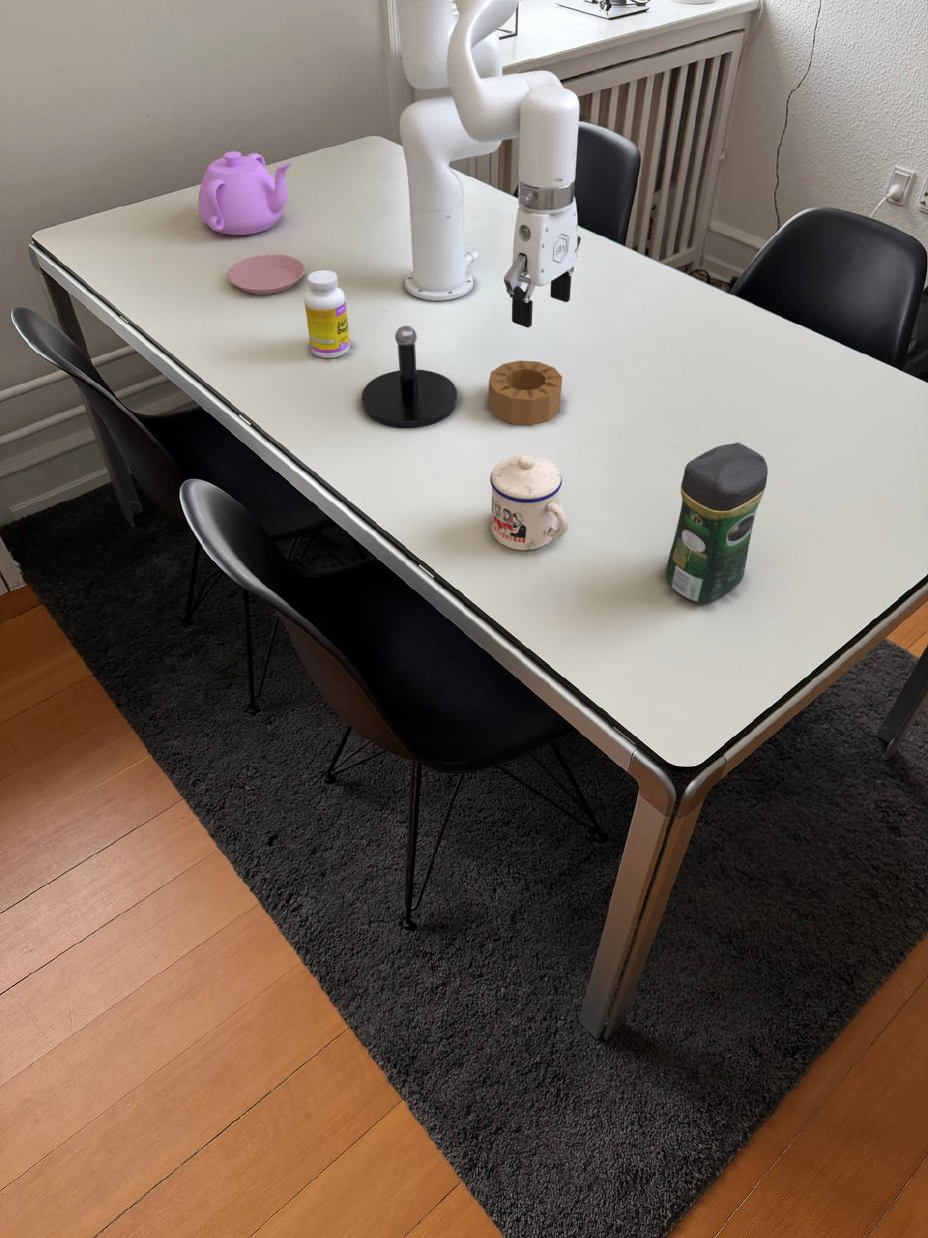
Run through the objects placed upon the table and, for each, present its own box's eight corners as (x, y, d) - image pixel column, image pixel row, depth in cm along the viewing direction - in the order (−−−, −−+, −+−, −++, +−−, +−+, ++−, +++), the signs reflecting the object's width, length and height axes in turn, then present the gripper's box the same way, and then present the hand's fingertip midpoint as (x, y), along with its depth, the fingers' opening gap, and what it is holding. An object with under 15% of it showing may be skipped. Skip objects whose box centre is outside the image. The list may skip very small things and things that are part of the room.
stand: (404, 365, 156) (400, 293, 147) (476, 395, 149) (476, 322, 140) (342, 406, 147) (333, 332, 138) (415, 439, 141) (411, 364, 132)
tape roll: (516, 378, 152) (517, 353, 149) (573, 400, 148) (575, 375, 144) (475, 408, 146) (475, 383, 143) (533, 433, 142) (534, 407, 138)
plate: (285, 304, 171) (283, 293, 170) (215, 293, 175) (213, 282, 173) (318, 269, 181) (317, 259, 179) (251, 260, 184) (250, 250, 183)
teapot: (275, 254, 186) (263, 182, 176) (180, 239, 191) (163, 167, 181) (324, 211, 200) (316, 141, 190) (235, 198, 205) (222, 130, 196)
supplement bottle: (344, 361, 157) (335, 287, 148) (306, 357, 158) (295, 284, 149) (355, 341, 161) (347, 268, 152) (318, 337, 162) (308, 265, 153)
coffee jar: (704, 548, 123) (730, 427, 110) (751, 580, 118) (785, 458, 105) (651, 579, 119) (673, 458, 106) (699, 614, 114) (727, 492, 101)
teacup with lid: (475, 528, 126) (475, 456, 118) (525, 500, 130) (528, 429, 122) (538, 574, 120) (542, 501, 111) (587, 542, 124) (595, 470, 116)
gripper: (531, 219, 121) (527, 342, 133) (604, 178, 130) (594, 296, 142) (485, 206, 124) (485, 327, 136) (559, 167, 134) (553, 283, 146)
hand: (541, 311), depth 139 cm, fingers open, 9 cm apart
